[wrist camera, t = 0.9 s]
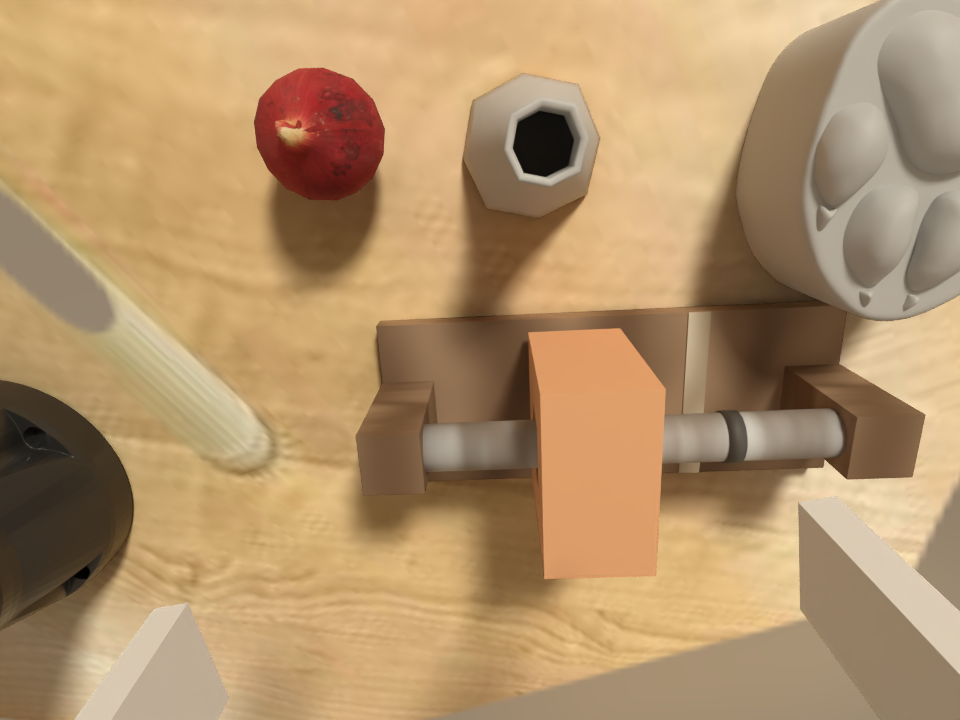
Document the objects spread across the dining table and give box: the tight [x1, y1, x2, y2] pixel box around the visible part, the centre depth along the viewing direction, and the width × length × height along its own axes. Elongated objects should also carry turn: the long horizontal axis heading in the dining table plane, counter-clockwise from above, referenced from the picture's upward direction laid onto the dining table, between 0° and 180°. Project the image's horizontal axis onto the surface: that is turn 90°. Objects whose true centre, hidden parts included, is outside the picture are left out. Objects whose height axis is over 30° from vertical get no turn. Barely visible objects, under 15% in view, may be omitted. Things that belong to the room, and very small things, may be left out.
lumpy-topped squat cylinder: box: [736, 0, 960, 321], centre depth 27 cm, size 10×13×9 cm
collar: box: [528, 328, 666, 579], centre depth 29 cm, size 5×9×9 cm, turn 3°
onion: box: [254, 68, 385, 200], centre depth 27 cm, size 6×6×8 cm
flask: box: [463, 73, 600, 218], centre depth 26 cm, size 7×7×10 cm
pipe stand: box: [356, 301, 925, 496], centre depth 31 cm, size 26×10×8 cm, turn 93°
